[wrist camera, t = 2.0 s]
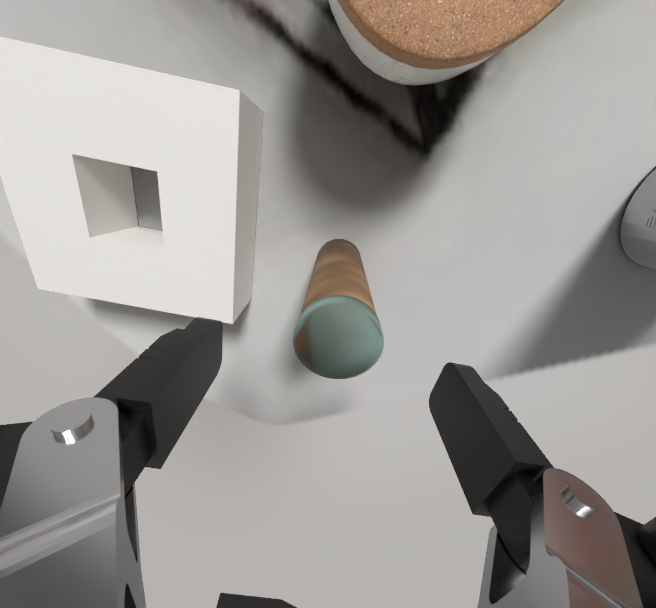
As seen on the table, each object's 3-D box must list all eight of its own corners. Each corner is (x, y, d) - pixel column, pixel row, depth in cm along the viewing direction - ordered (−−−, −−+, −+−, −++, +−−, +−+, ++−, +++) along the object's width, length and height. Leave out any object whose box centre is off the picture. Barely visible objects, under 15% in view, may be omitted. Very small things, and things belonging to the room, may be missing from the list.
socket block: (263, 111, 17) (239, 90, 13) (251, 299, 23) (232, 324, 19) (45, 63, 16) (-50, 25, 12) (92, 269, 23) (37, 288, 18)
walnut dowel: (366, 243, 21) (395, 313, 10) (355, 285, 22) (370, 385, 11) (320, 234, 20) (300, 294, 10) (313, 277, 22) (288, 370, 11)
